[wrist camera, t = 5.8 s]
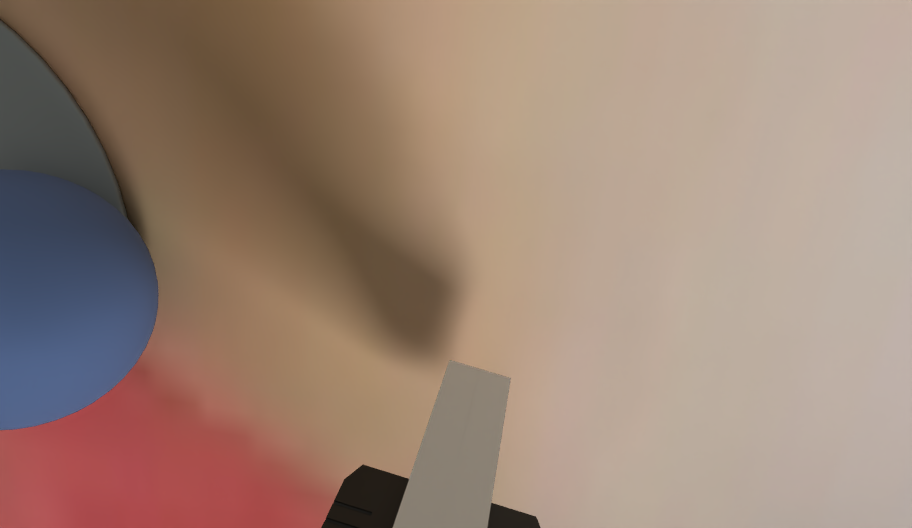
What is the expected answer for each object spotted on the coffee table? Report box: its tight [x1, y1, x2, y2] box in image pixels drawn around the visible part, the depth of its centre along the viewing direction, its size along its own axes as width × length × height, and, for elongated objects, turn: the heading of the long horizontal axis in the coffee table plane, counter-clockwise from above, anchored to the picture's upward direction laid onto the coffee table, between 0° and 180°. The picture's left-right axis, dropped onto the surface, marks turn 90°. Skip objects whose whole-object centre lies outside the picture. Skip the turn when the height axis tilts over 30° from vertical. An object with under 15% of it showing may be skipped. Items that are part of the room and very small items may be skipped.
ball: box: [0, 169, 158, 430], centre depth 15 cm, size 6×6×6 cm
